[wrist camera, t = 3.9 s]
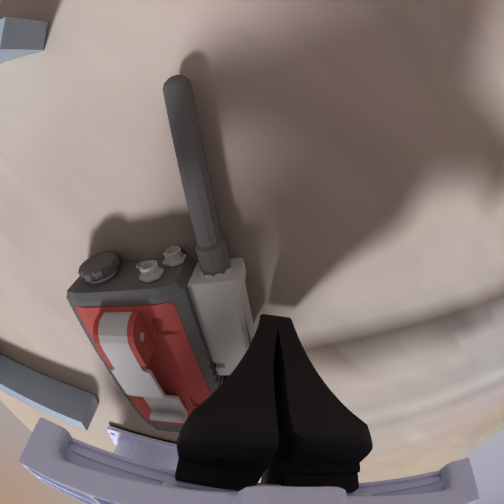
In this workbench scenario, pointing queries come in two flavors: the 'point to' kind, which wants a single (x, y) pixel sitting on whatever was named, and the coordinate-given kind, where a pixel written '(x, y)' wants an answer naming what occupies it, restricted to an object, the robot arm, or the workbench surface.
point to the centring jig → (3, 369)
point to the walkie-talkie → (170, 298)
